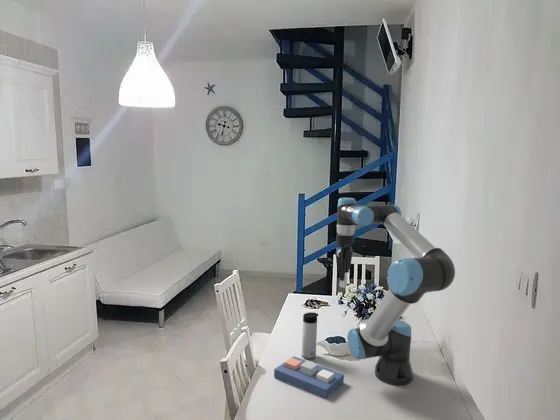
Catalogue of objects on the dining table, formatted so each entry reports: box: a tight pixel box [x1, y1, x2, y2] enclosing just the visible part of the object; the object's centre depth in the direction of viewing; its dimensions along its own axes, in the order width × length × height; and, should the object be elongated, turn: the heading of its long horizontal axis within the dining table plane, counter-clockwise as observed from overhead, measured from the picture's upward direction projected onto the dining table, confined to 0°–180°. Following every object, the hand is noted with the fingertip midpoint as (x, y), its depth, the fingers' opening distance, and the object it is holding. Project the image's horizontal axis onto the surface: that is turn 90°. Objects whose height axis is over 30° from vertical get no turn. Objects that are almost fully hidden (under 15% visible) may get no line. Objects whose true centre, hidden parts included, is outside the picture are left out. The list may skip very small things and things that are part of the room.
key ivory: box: [316, 369, 334, 384], centre depth 166 cm, size 5×5×4 cm
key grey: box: [300, 360, 318, 377], centre depth 171 cm, size 5×5×4 cm
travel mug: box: [301, 311, 319, 361], centre depth 190 cm, size 6×7×20 cm
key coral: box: [284, 357, 302, 371], centre depth 175 cm, size 5×5×4 cm
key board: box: [273, 356, 345, 399], centre depth 171 cm, size 24×14×4 cm, turn 54°
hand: (342, 287), depth 187 cm, fingers closed
